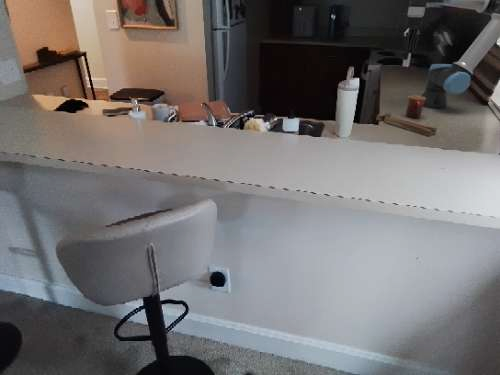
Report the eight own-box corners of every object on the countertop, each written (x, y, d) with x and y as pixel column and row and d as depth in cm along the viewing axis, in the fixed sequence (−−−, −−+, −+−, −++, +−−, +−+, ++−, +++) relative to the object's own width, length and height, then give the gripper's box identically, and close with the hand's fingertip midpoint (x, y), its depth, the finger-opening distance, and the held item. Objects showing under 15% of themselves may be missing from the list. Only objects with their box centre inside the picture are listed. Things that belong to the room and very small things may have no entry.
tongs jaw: (391, 121, 192) (392, 115, 191) (435, 133, 177) (437, 127, 175) (388, 121, 191) (389, 116, 190) (432, 134, 175) (434, 128, 174)
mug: (402, 113, 205) (406, 94, 201) (419, 115, 204) (424, 96, 199) (406, 120, 195) (410, 100, 190) (424, 121, 194) (429, 101, 189)
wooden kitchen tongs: (382, 118, 197) (383, 112, 195) (434, 134, 176) (436, 127, 175) (376, 120, 194) (377, 113, 193) (428, 136, 174) (430, 129, 172)
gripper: (415, 15, 194) (406, 63, 205) (400, 16, 186) (391, 66, 197) (429, 16, 188) (418, 65, 199) (414, 17, 181) (404, 68, 192)
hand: (405, 66), depth 198 cm, fingers closed
